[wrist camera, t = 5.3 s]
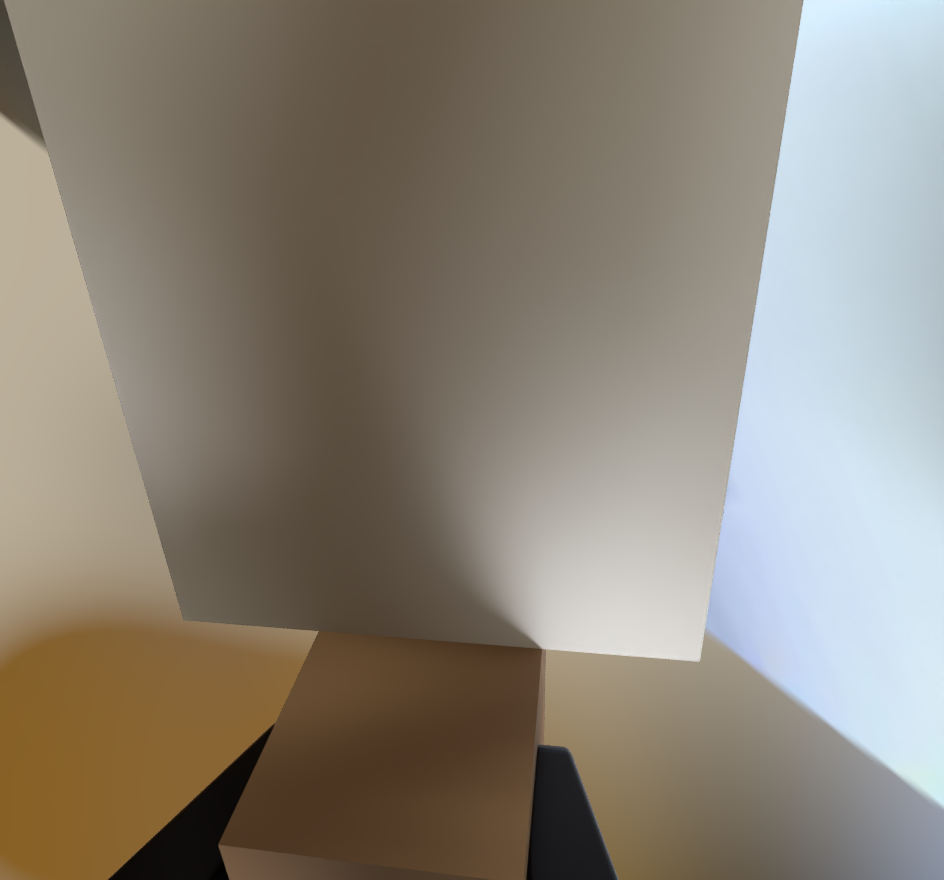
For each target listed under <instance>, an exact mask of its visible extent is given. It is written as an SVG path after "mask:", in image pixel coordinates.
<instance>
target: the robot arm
mask: <svg viewBox="0 0 944 880" xmlns="http://www.w3.org/2000/svg"><path fill="white" fill-rule="evenodd" d="M274 725H275V723H274V724H273V725H272V726H271V727H270V728H269V729H268V730H267V731H266V732H264V733H263V734H262V735H261V736H260V737H259V738H258V739H257V740H256V741H255V742H254V743H253V744H252V745H251V746H249V747H248V749H246V750H245V751H244V752H243V753H242V754H241V755H240V756H239V757H238V758H237V759H236V760H235V761H234V762H232V764H230V765H229V766H228V767H227V768H226V769H225V770H224V771H223V772H222V773H221V774H220V775H219V776H218V777H217V778H216V779H214V780H213V781H212V782H211V783H210V784H209V785H208V786H207V787H206V788H205V789H204V790H203V791H202V792H201V793H200V794H199V795H197V796H196V797H195V798H194V799H193V800H192V801H191V802H190V803H189V804H188V805H187V806H186V807H185V808H184V809H183V810H181V811H180V812H179V813H178V814H177V815H176V816H175V817H174V818H173V819H172V820H171V821H170V822H169V823H168V824H167V825H165V826H164V827H163V828H162V829H161V830H160V831H159V832H158V833H157V834H156V835H155V836H154V837H153V838H152V839H151V840H150V841H149V842H147V843H146V844H145V845H144V846H143V847H142V848H141V849H140V850H139V851H138V852H137V853H136V854H135V855H134V856H132V857H131V858H130V859H129V860H128V861H127V862H126V863H125V864H124V865H123V866H122V867H121V868H120V869H119V870H118V871H117V872H115V873H114V874H113V875H112V876H111V877H110V878H109V879H108V880H229V877H228V874H227V871H226V868H225V865H224V861H223V858H222V855H221V852H220V849H219V846H218V844H219V842H220V840H221V838H222V836H223V833H224V831H225V829H226V827H227V825H228V823H229V821H230V819H231V817H232V814H233V812H234V810H235V808H236V806H237V804H238V802H239V800H240V797H241V795H242V793H243V791H244V789H245V787H246V785H247V783H248V781H249V778H250V776H251V774H252V772H253V770H254V768H255V766H256V764H257V761H258V759H259V757H260V755H261V753H262V751H263V749H264V747H265V745H266V742H267V740H268V738H269V736H270V734H271V732H272V730H273V728H274ZM526 880H618V877H617V874H616V871H615V869H614V866H613V863H612V861H611V858H610V855H609V853H608V850H607V847H606V845H605V842H604V839H603V837H602V834H601V831H600V828H599V826H598V823H597V820H596V818H595V815H594V813H593V810H592V807H591V805H590V802H589V799H588V796H587V794H586V791H585V788H584V786H583V783H582V780H581V778H580V775H579V772H578V770H577V767H576V764H575V762H574V759H573V756H572V754H571V752H570V751H569V750H568V749H567V748H565V747H560V746H550V745H538V749H537V761H536V772H535V784H534V795H533V807H532V818H531V830H530V841H529V853H528V865H527V877H526Z"/></svg>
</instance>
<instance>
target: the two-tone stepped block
mask: <svg viewBox="0 0 944 880" xmlns="http://www.w3.org/2000/svg"><path fill="white" fill-rule="evenodd" d="M4 2H5V5H6V9H7V12H8V16H9V19H10V23H11V26H12V30H13V33H14V36H15V40H16V43H17V47H18V50H19V54H20V57H21V61H22V64H23V68H24V71H25V74H26V78H27V81H28V85H29V88H30V92H31V95H32V99H33V102H34V106H35V109H36V112H37V116H38V119H39V123H40V126H41V130H42V133H43V137H44V140H45V144H46V147H47V150H48V154H49V157H50V161H51V164H52V168H53V171H54V175H55V178H56V181H57V185H58V188H59V192H60V195H61V199H62V202H63V206H64V209H65V212H66V216H67V219H68V223H69V226H70V230H71V233H72V237H73V240H74V244H75V247H76V251H77V254H78V257H79V261H80V264H81V268H82V271H83V275H84V278H85V281H86V285H87V289H88V292H89V295H90V299H91V302H92V306H93V309H94V313H95V316H96V319H97V323H98V326H99V330H100V333H101V337H102V340H103V343H104V347H105V351H106V354H107V358H108V361H109V365H110V368H111V371H112V375H113V378H114V382H115V385H116V389H117V392H118V395H119V399H120V402H121V406H122V409H123V413H124V416H125V420H126V423H127V426H128V430H129V433H130V437H131V441H132V444H133V447H134V451H135V454H136V458H137V461H138V464H139V468H140V472H141V475H142V478H143V482H144V485H145V489H146V492H147V496H148V499H149V503H150V506H151V510H152V513H153V516H154V520H155V523H156V527H157V530H158V534H159V537H160V541H161V544H162V548H163V551H164V554H165V558H166V561H167V565H168V568H169V572H170V575H171V579H172V582H173V586H174V589H175V592H176V595H177V599H178V603H179V606H180V610H181V613H182V616H183V620H187V621H200V622H213V623H226V624H238V625H250V626H263V627H275V628H287V629H300V630H314V631H319V632H318V634H317V636H316V639H315V641H314V643H313V645H312V647H311V649H310V651H309V653H308V656H307V658H306V660H305V662H304V664H303V666H302V668H301V670H300V672H299V675H298V677H297V679H296V681H295V683H294V685H293V687H292V689H291V692H290V694H289V696H288V698H287V700H286V702H285V704H284V706H283V708H282V711H281V713H280V715H279V717H278V719H277V721H276V723H275V725H274V728H273V730H272V732H271V734H270V736H269V738H268V740H267V742H266V745H265V747H264V749H263V751H262V753H261V755H260V757H259V759H258V761H257V764H256V766H255V768H254V770H253V772H252V774H251V776H250V778H249V781H248V783H247V785H246V787H245V789H244V791H243V793H242V795H241V797H240V800H239V802H238V804H237V806H236V808H235V810H234V812H233V814H232V817H231V819H230V821H229V823H228V825H227V827H226V829H225V831H224V833H223V836H222V838H221V840H220V842H219V844H218V846H219V849H220V852H221V855H222V858H223V861H224V865H225V868H226V871H227V874H228V877H229V880H526V877H527V865H528V853H529V841H530V830H531V818H532V807H533V795H534V784H535V772H536V761H537V749H538V745H544V710H545V660H546V658H545V657H546V649H551V650H562V651H574V652H587V653H600V654H613V655H624V656H625V655H626V656H638V657H650V658H662V659H675V660H687V661H700V656H701V649H702V643H703V637H704V631H705V624H706V618H707V611H708V605H709V599H710V592H711V586H712V580H713V573H714V567H715V560H716V554H717V548H718V541H719V535H720V529H721V522H722V516H723V509H724V503H725V497H726V490H727V484H728V478H729V471H730V465H731V458H732V452H733V446H734V439H735V433H736V427H737V420H738V414H739V407H740V401H741V395H742V388H743V382H744V376H745V369H746V363H747V356H748V350H749V344H750V337H751V331H752V325H753V318H754V312H755V305H756V299H757V293H758V286H759V280H760V274H761V267H762V261H763V254H764V248H765V242H766V235H767V229H768V223H769V216H770V210H771V203H772V197H773V191H774V184H775V178H776V172H777V165H778V159H779V152H780V146H781V140H782V133H783V127H784V121H785V114H786V108H787V101H788V95H789V89H790V82H791V76H792V70H793V63H794V57H795V50H796V44H797V38H798V31H799V25H800V19H801V12H802V6H803V0H4Z"/></svg>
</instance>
